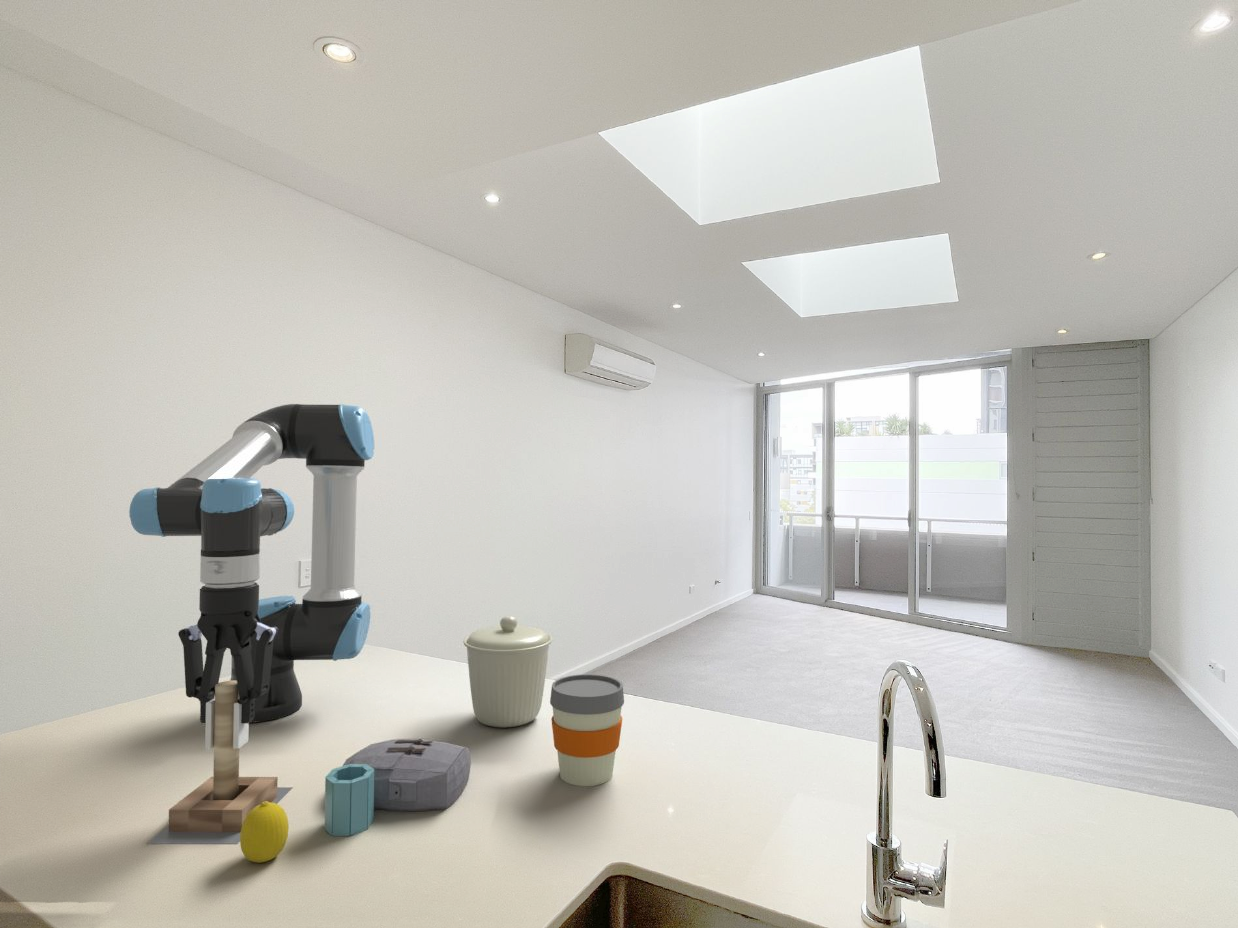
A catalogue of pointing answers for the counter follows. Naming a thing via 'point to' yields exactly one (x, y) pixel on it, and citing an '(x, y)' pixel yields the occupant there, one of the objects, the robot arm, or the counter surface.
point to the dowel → (225, 743)
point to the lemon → (264, 832)
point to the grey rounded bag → (415, 773)
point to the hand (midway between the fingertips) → (227, 744)
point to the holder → (220, 806)
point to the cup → (349, 799)
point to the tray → (206, 837)
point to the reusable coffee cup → (586, 726)
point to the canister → (507, 672)
